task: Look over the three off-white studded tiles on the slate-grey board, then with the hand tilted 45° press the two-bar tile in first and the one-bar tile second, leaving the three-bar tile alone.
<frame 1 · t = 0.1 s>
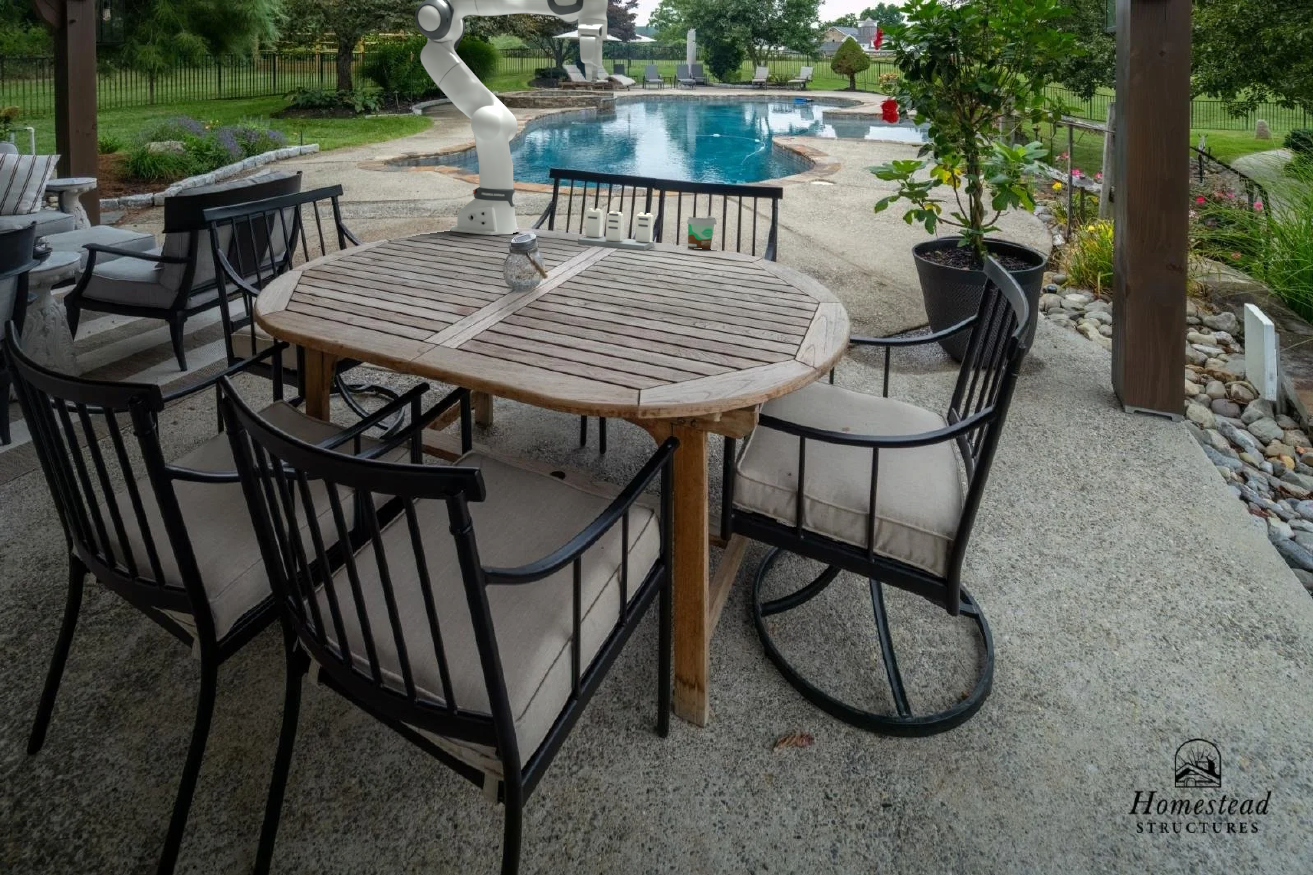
hand: (591, 81, 234), 48 cm above the table, tool pointing down, fingers open, 8 cm apart
tile board: (616, 245, 242), on the table
food container: (703, 249, 247), on the table
tile three: (614, 226, 238), point 6 cm above the table, slide at 0.0 cm
tile two: (644, 227, 240), point 6 cm above the table, slide at 0.0 cm
tile one: (594, 222, 244), point 6 cm above the table, slide at 0.0 cm
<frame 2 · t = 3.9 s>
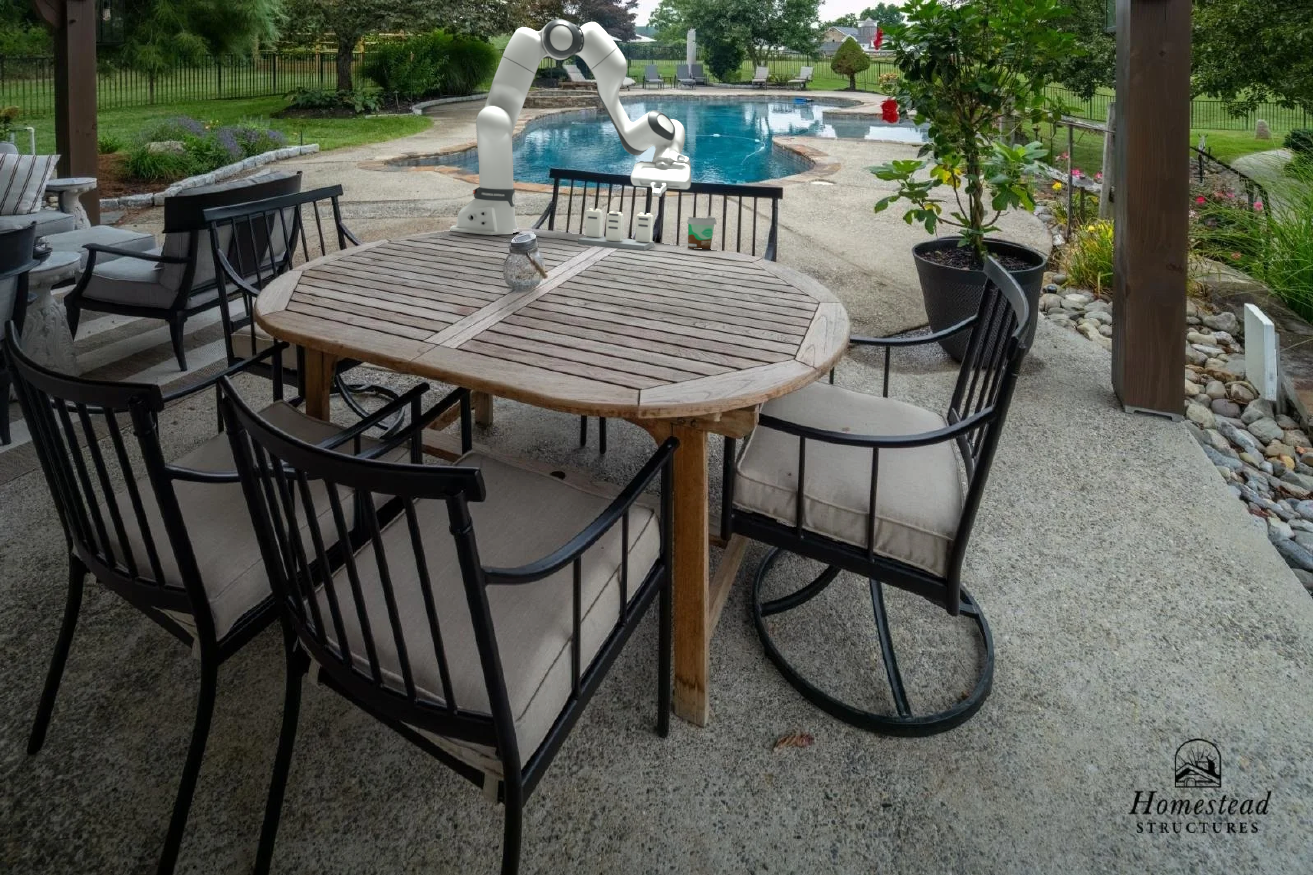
hand: (656, 195, 248), 15 cm above the table, tool tilted 45°, fingers closed
nothing on the table moved.
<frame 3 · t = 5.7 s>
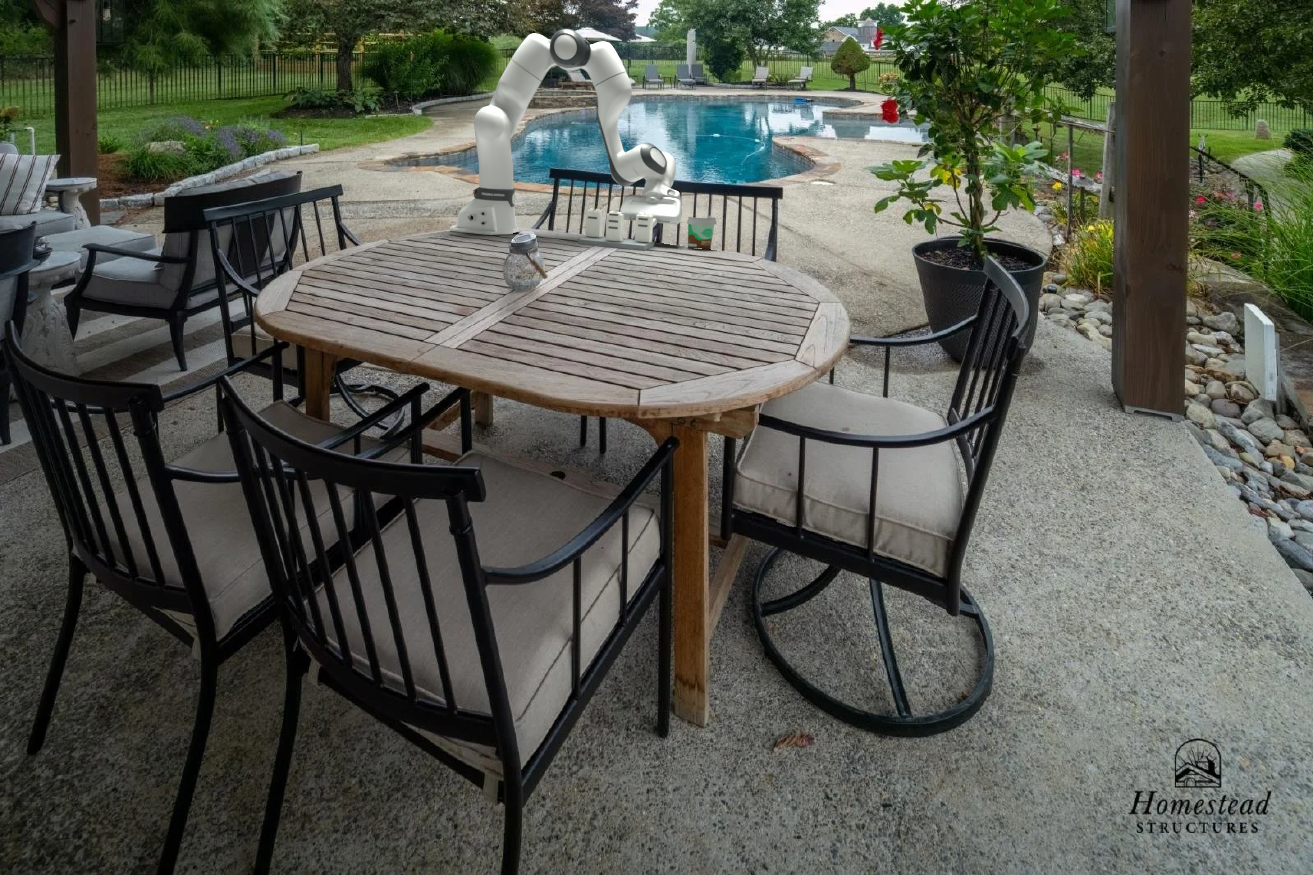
hand: (645, 230, 242), 5 cm above the table, tool tilted 45°, fingers closed, pressing on tile two
tile two: (644, 227, 239), point 6 cm above the table, slide at 0.4 cm, touching gripper
everything else where it was.
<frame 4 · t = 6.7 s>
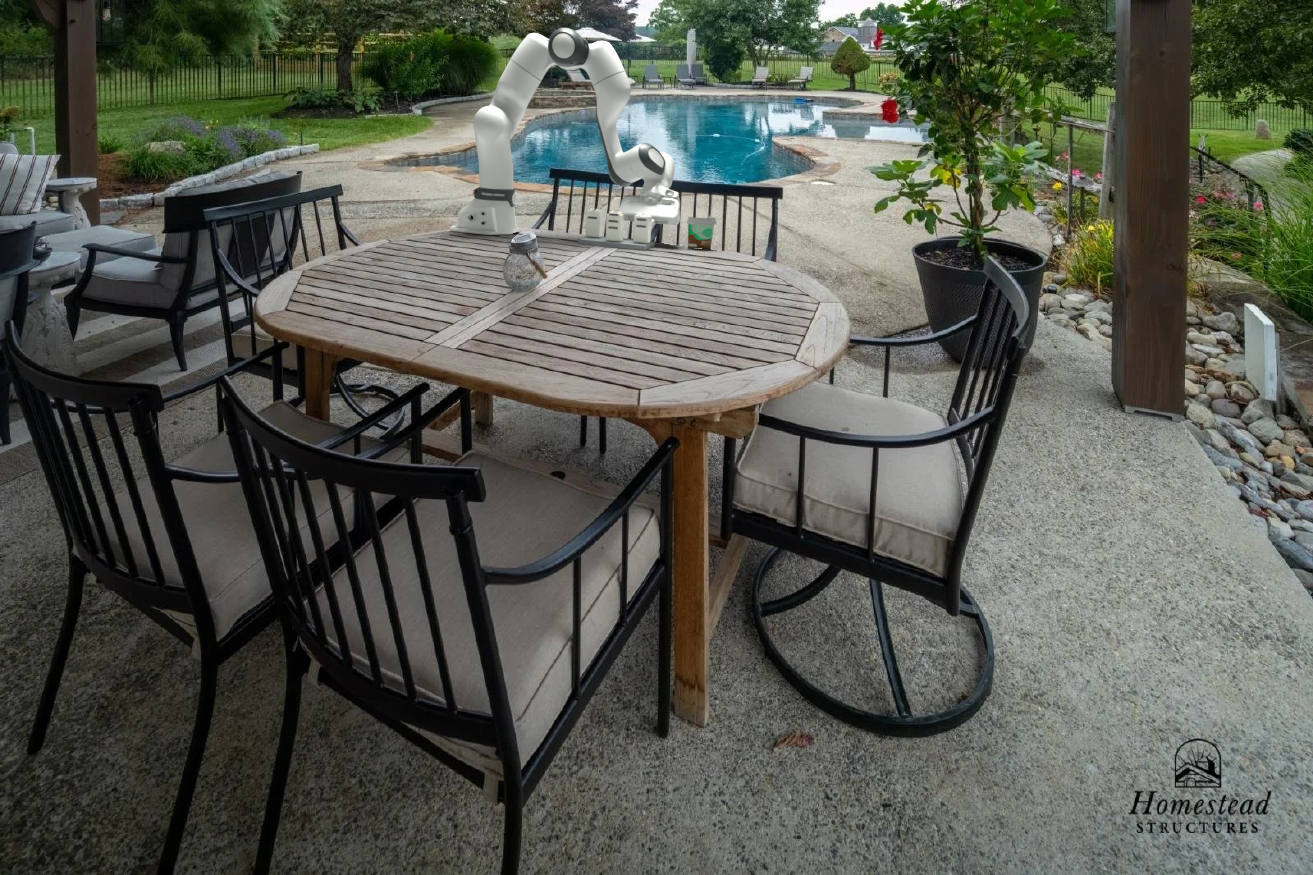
hand: (644, 231, 240), 5 cm above the table, tool tilted 45°, fingers closed
tile two: (642, 227, 238), point 6 cm above the table, slide at 2.4 cm
everything else where it was.
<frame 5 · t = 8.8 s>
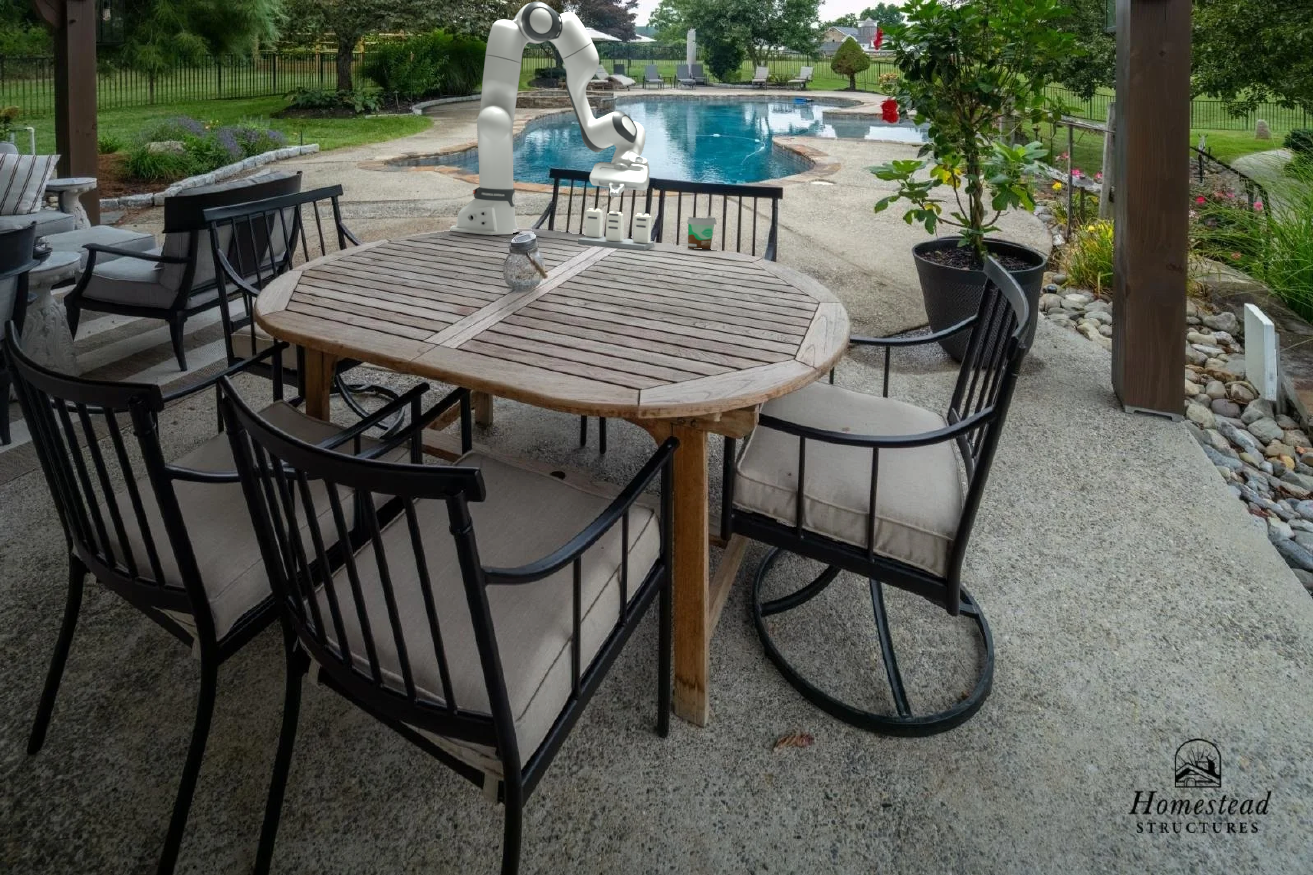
hand: (613, 195, 251), 14 cm above the table, tool tilted 45°, fingers closed
nothing on the table moved.
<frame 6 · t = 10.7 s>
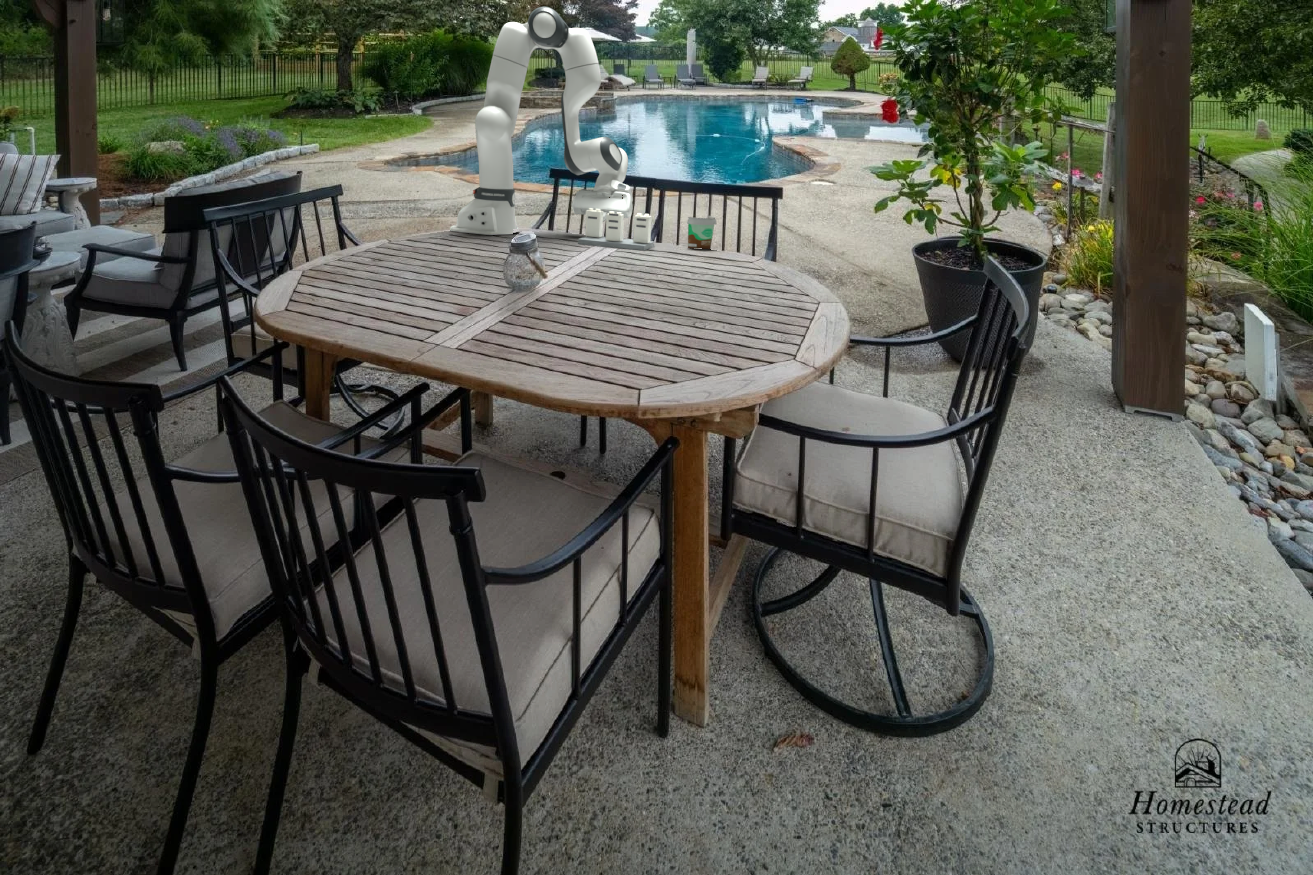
hand: (596, 224, 246), 5 cm above the table, tool tilted 45°, fingers closed, pressing on tile one
tile one: (594, 222, 244), point 6 cm above the table, slide at 0.0 cm, touching gripper
everything else where it was.
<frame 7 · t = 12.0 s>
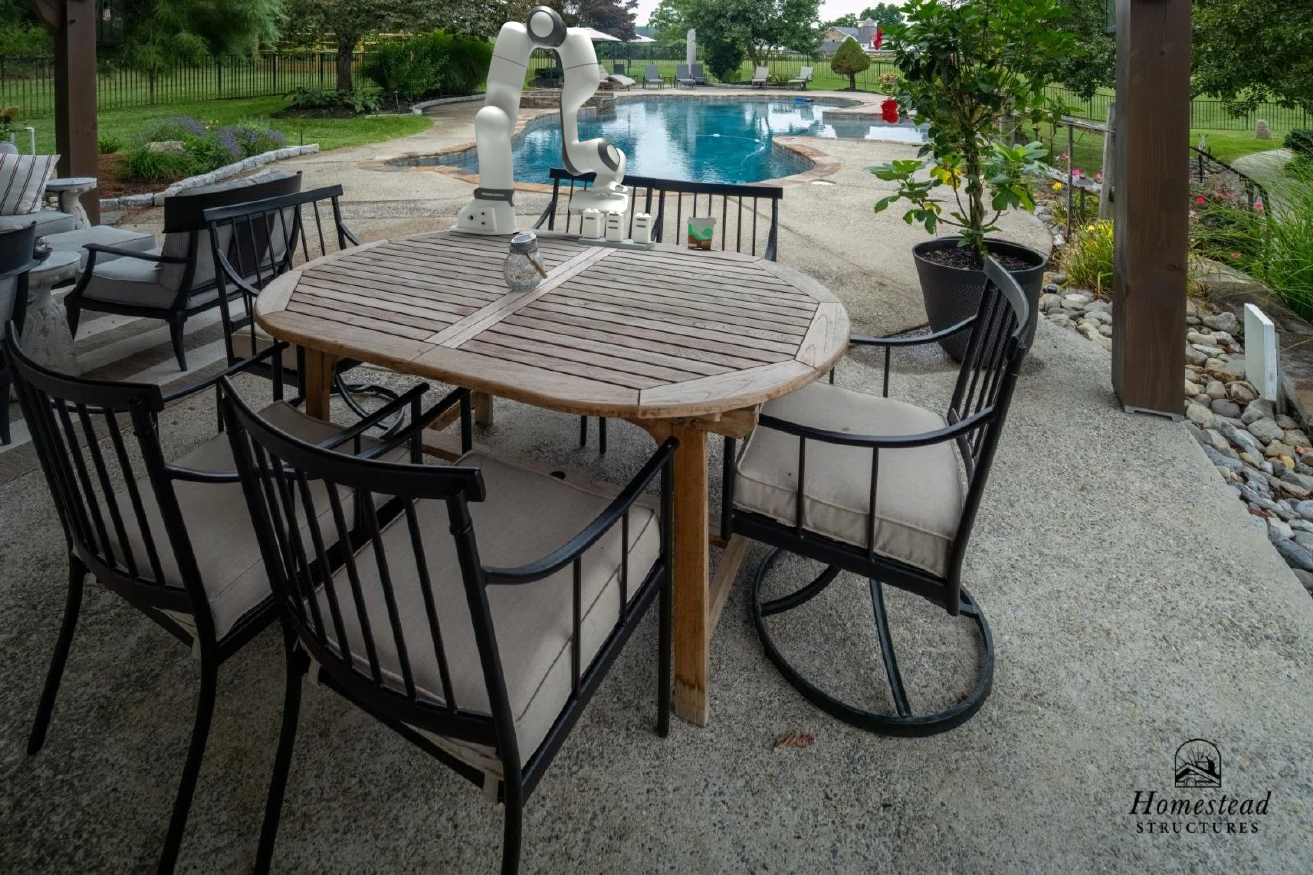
hand: (593, 225, 244), 5 cm above the table, tool tilted 45°, fingers closed
tile one: (591, 223, 241), point 6 cm above the table, slide at 2.5 cm
everything else where it was.
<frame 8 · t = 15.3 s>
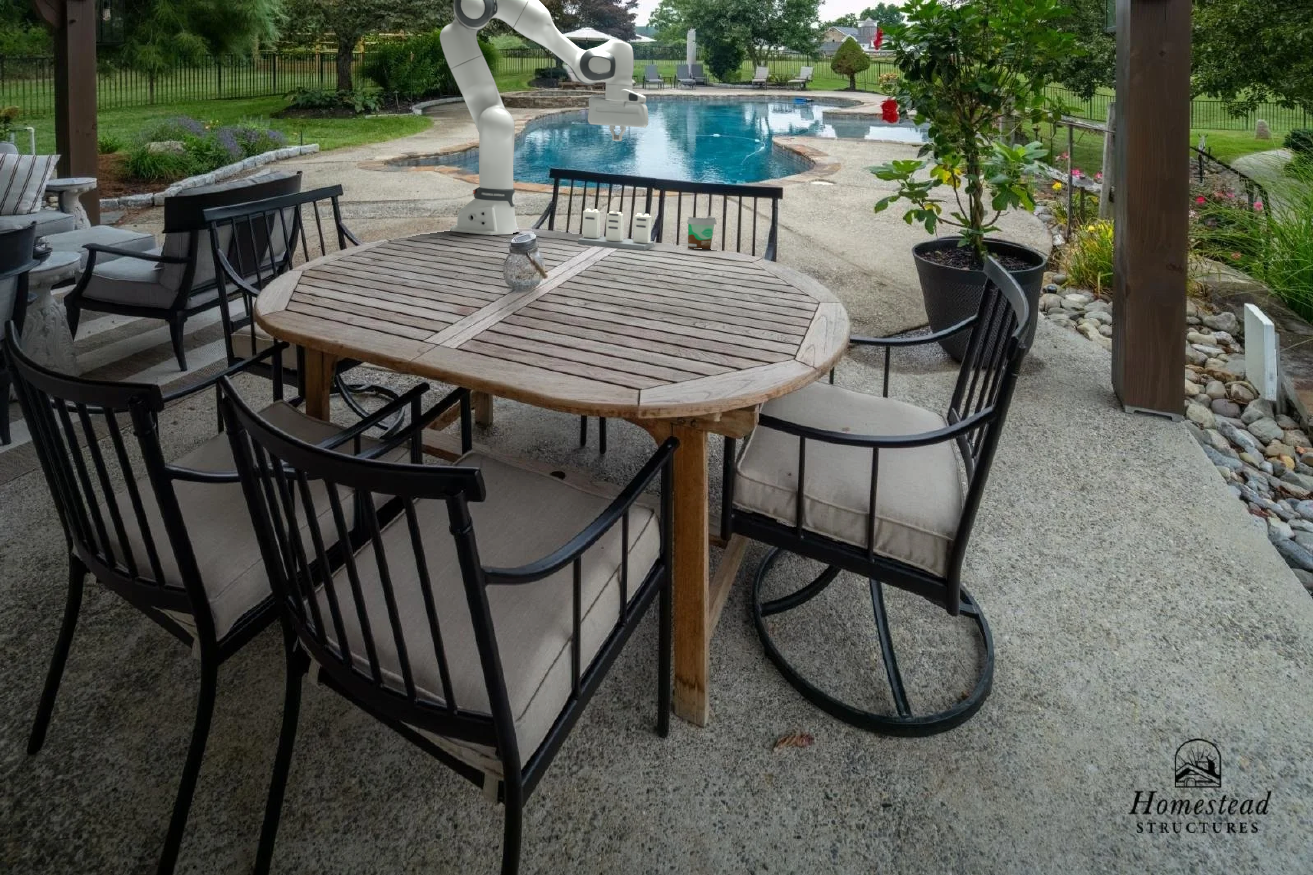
hand: (617, 140, 251), 31 cm above the table, tool pointing down, fingers closed
nothing on the table moved.
at the end: tile two slide at 2.4 cm; tile one slide at 2.5 cm; tile three slide at 0.0 cm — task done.
